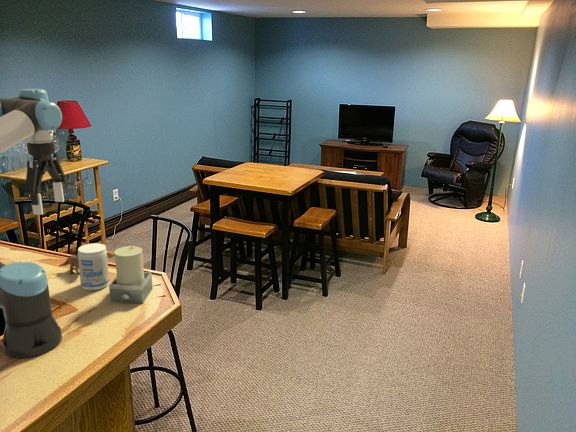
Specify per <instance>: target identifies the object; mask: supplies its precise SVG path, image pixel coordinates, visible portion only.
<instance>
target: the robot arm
mask: <svg viewBox="0 0 576 432" xmlns="http://www.w3.org/2000/svg"><path fill="white" fill-rule="evenodd" d="M18 94H19V95H18V96H16V97H0V154H2V153H5V152H6V151H7V150H10V149H11V148H14V146H16V145H18V144H19V143H22V142H24V141H25V140H26V142H27V143H26V149H27V154H28V155H29V156H32V160H27V161H26V169H27V171H26V176H25V177H26V178H25V187H24V194H26V195H30V201H31V208H32V213H33V215H40V216H42V215H44V210H43V209H44V208H43V202H42V195H41V193H40V189H41V184H42V181H43V177H44V175H46V173H48V175H49V176H50V178H51V179H52V180H53V182H52V186H53V187H52V188H53V197H54V202H55V203H64V202H65V197H64V188H63V183H64V182H66V179H65V178H66V175H65V172H64V170H63V168H62V165H61V163H60V161H59V158H58V157H59V156H58V153H57V152H56V147H55V141H53V140H54V131H55V130H57V129H58V128H59V127H60V126H61V124H62V121H63V113H62V111H61V108H60V106H58V105H57V104H56V103H55V102H52V101H51V102H50V100H49V99H50V98H49V96H48V92H47V91H46V90H45V89H42V88H22V89H20V90H19V91H18ZM0 309H2V311H3V316H4V321H5V327H4V330H3V331H4V332H3V337H2V341H1V347H2V352H3V353H4V354H5V355H6V356H7V357H11V358H13V359H25V358H26V359H27V358H34V357H37V356H40V355H43V354H46V353H47V352H50V351H52V350H53V349H54V348H56V347H57V346H59V344H60V343H61V342H62V340H63V334H62V328H61V327H60V326H59V324H58V322H57V320H56V318H55V316H54V315H53V312H52V306H51V297H50V291H49V281H48V277H47V273H46V271H45V269H44V267H43V266H41V264H37V263H36V262H30V261H25V262H22V261H17V262H11V263H8V264H5V263H4V262H2V261H0Z"/></svg>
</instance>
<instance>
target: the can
mask: <svg viewBox="0 0 576 432" xmlns="http://www.w3.org/2000/svg"><path fill="white" fill-rule="evenodd" d="M113 255H114V261H115V270H116V276H117V285H141V284H142V283H143V281H144V280H145V278H144V272H145V271H144V255H143V248H142V247H141V246H137V245H136V246H135V245H127V246H121V247H119V248H116V249H115V250H114V253H113Z"/></svg>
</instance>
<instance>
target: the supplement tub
mask: <svg viewBox="0 0 576 432" xmlns="http://www.w3.org/2000/svg"><path fill="white" fill-rule="evenodd" d="M77 254H78V255H77V256H78V261H79V269H78V272H79V273H80V274H79V278H80V287H81V288H82V289H84V290H86V291H100V290H103V289H104V288H106V287H107V286H109V284H110V275H109V264H108V252H107V246H106V245H105V244H103V243H95V242H94V243H87V244H83V245H81V246H79V247H78V248H77Z"/></svg>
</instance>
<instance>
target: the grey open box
mask: <svg viewBox="0 0 576 432" xmlns="http://www.w3.org/2000/svg"><path fill="white" fill-rule="evenodd" d="M152 274H153V273H152V271H144V278H145V280H144V281H143V283H142V284H141V285H117V275H116V276H115V277H114V279H112V280H111V282H109V284H108V289H109V297H110V303H115V304H116V303H123V304H144V303H145V302H146V300H147V298H148V296H149V295H150V293H151V292H152V291H153V277H152Z"/></svg>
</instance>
